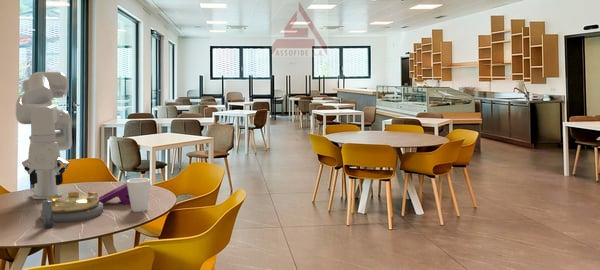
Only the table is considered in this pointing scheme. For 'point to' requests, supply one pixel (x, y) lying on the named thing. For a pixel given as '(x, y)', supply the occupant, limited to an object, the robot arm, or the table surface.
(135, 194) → the foam cup
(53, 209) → the brass lugged disc
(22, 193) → the table surface
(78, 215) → the grey round plate
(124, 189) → the mounting bracket
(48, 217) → the pin
